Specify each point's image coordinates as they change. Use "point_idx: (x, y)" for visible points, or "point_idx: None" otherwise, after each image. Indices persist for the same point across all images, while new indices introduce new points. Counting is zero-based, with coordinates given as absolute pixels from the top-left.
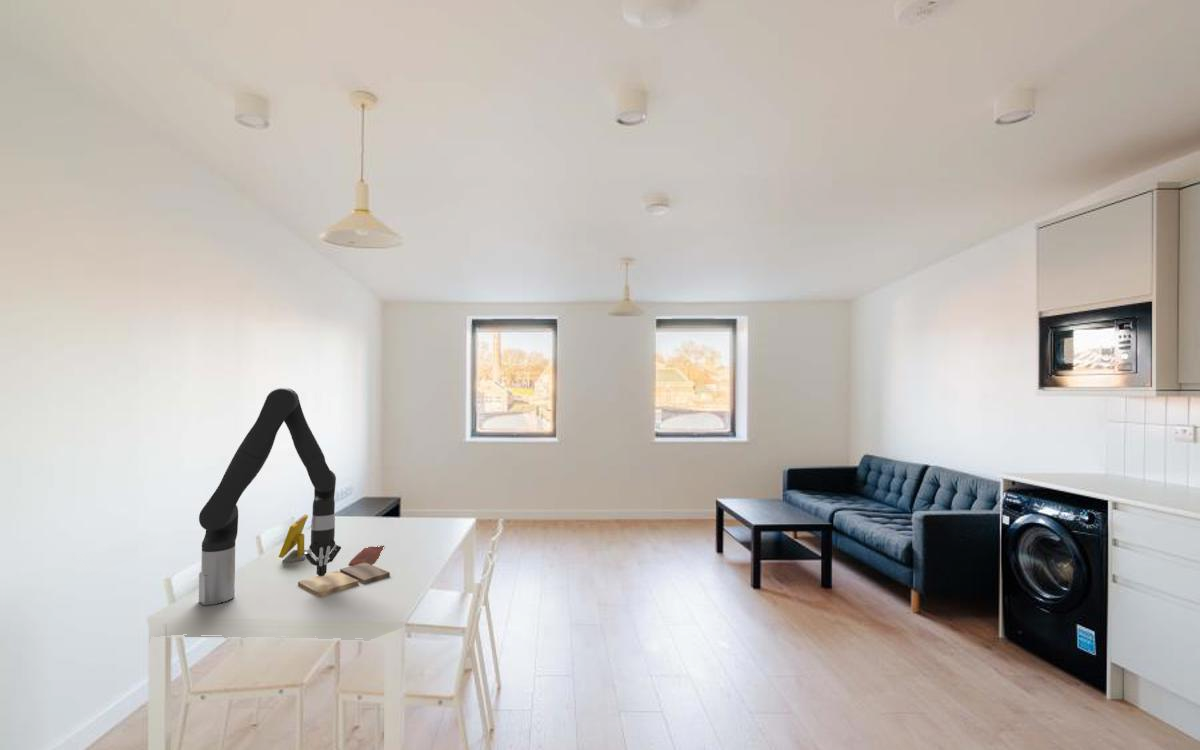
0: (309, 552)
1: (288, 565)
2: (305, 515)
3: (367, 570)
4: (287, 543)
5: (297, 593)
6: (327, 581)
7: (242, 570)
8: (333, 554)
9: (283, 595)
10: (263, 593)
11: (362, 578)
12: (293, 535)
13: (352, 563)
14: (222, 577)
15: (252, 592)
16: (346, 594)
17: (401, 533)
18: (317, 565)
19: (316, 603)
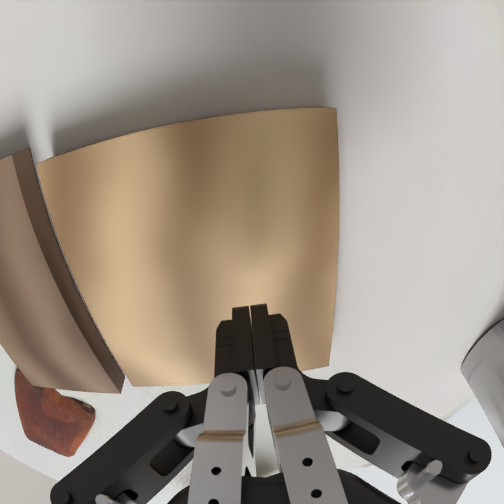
0: (441, 493)
1: (259, 470)
2: None
3: (3, 300)
4: None
5: (372, 263)
6: (208, 285)
7: (345, 467)
8: (135, 459)
9: (416, 278)
10: (430, 338)
11: (15, 190)
12: None
13: (81, 412)
14: None
15: (435, 360)
16: (157, 30)
17: (16, 451)
18: (312, 380)
19: (364, 22)
